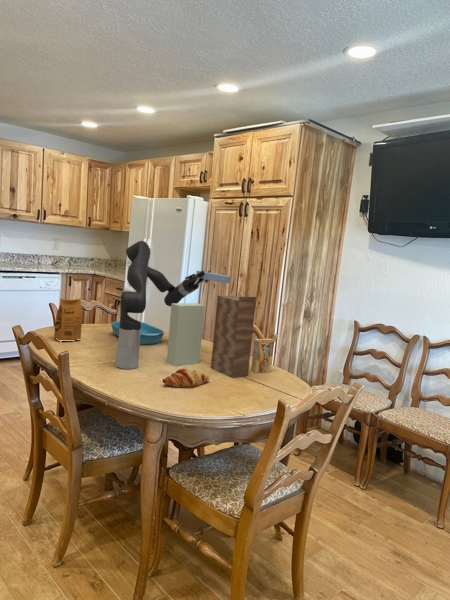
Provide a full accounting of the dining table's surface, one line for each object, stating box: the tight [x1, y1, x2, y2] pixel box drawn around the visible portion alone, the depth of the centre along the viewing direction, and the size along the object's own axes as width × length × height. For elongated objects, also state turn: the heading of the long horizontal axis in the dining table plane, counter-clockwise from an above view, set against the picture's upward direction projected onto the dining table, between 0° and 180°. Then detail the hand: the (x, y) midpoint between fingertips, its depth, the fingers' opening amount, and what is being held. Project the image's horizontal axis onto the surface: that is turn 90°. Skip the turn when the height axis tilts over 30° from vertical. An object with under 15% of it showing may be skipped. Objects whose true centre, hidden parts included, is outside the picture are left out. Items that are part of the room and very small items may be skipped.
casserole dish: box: [110, 320, 165, 345], centre depth 241 cm, size 37×22×7 cm, turn 38°
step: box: [166, 302, 205, 367], centre depth 200 cm, size 7×14×28 cm, turn 129°
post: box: [210, 295, 257, 379], centre depth 192 cm, size 16×9×36 cm, turn 39°
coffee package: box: [53, 298, 83, 340], centre depth 221 cm, size 10×12×22 cm
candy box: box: [250, 338, 275, 374], centre depth 199 cm, size 9×4×15 cm, turn 119°
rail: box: [195, 270, 231, 284], centre depth 204 cm, size 23×3×3 cm, turn 39°
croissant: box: [162, 368, 211, 389], centre depth 171 cm, size 21×10×8 cm, turn 123°
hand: (206, 272), depth 207 cm, fingers closed on rail, 3 cm apart
